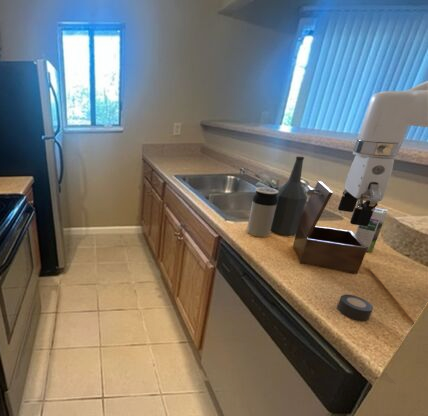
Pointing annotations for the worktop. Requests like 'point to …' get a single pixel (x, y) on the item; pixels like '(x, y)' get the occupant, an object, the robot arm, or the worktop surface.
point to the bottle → (290, 203)
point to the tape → (355, 307)
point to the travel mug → (262, 212)
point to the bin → (330, 249)
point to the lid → (314, 207)
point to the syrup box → (371, 229)
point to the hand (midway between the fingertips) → (351, 217)
